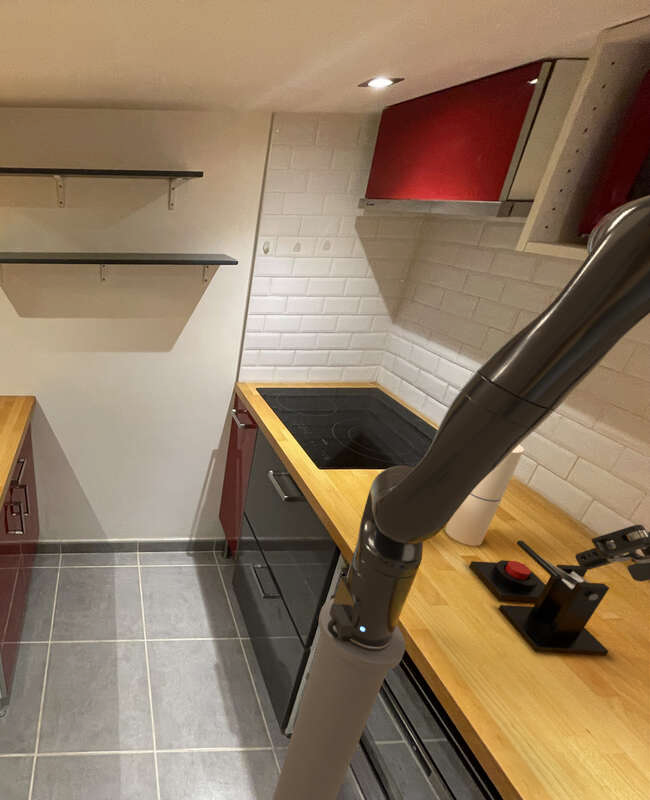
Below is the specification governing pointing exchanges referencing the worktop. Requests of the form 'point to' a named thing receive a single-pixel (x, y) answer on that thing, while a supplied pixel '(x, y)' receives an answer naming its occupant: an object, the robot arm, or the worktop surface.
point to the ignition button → (518, 570)
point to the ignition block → (507, 582)
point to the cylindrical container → (482, 503)
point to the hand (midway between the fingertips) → (606, 568)
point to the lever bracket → (560, 616)
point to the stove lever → (552, 567)
